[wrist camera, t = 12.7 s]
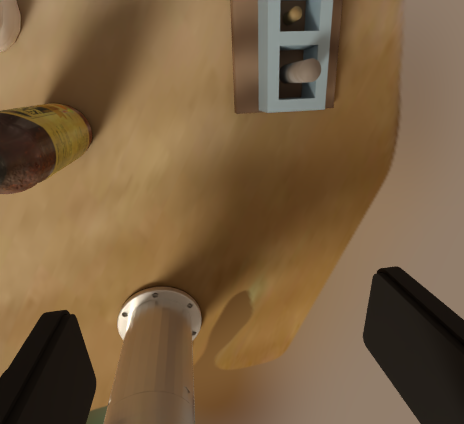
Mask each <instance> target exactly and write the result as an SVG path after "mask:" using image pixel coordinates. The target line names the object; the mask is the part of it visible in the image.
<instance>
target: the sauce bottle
mask: <svg viewBox="0 0 464 424" xmlns="http://www.w3.org/2000/svg"><path fill="white" fill-rule="evenodd" d="M91 140H92V131H91V128H90V125H89V123H88V121H87V119H86V118H85V117H84V115H83V114H82V113H80V112H79V111H78V110H76V109H74V108H72V107H70V106H68V105H61V104H54V103H51V104H44V105H37V106H30V107H22V108H15V109H9V110H3V111H0V194H12V193H18V192H22V191H25V190H27V189H29V188H31V187H33V186H35V185H36V184H37V183H39V182H42V181H43V180H46V179H47V178H49V177H50V176H52V175H53V174H55V173H56V172H58V171H59V170H61V169H62V168H64V167H66V166H67V165H69V164H70V163H72V162H73V161H75V160H76V159H78V158H79V157H80V156H82V155H83V154H84V153H85V151H86V150H87V149H88V148H89V145H90V143H91Z"/></svg>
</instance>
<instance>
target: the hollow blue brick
mask: <svg viewBox="0 0 464 424" xmlns="http://www.w3.org/2000/svg"><path fill="white" fill-rule="evenodd" d="M280 1H305V0H258V70H259V111H263V112H266V113H272V112H290V111H307V110H325V101H326V88H327V74H328V61H329V48H330V35H331V22H332V9H333V0H306V9H305V30H304V31H287V32H280ZM280 50H304V52H303V60H306V59H311V58H313V59H316V60H318V61H319V63H320V65H321V74H320V76H319V77H318V79H317V80H315V81H313V82H305V83H302V95H301V97H298V98H279V55H280Z"/></svg>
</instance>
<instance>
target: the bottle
mask: <svg viewBox="0 0 464 424" xmlns="http://www.w3.org/2000/svg"><path fill="white" fill-rule="evenodd" d="M20 25H21V14H20V11H19V8H18V4H17V1H16V0H0V52H2V51H5V50H7V49H8V48H9V47H10V46H11V45H13V44H14V43H15V41H16V39H17V37H18V34H19V32H20Z"/></svg>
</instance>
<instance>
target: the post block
mask: <svg viewBox="0 0 464 424" xmlns="http://www.w3.org/2000/svg"><path fill="white" fill-rule="evenodd" d="M230 2H231V28H232V53H233V79H234V104H235V113H236V114H240V113H257V112H263V111H259V70H258V0H230ZM305 9H306V0H305V1H280V32H287V31H304V30H305ZM341 12H342V0H333V9H332V22H331V35H330V48H329V61H328V74H327V88H326V101H325V108H333V107H334V95H335V83H336V71H337V59H338V47H339V36H340V24H341ZM303 52H304V50H280V55H279V98H298V97H301V95H302V83H305V82H313V81H315V80H317V79H318V77H319V76H320V74H321V65H320V63H319V61H318V60H316V59H313V58H311V59H306V60H303Z"/></svg>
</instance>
